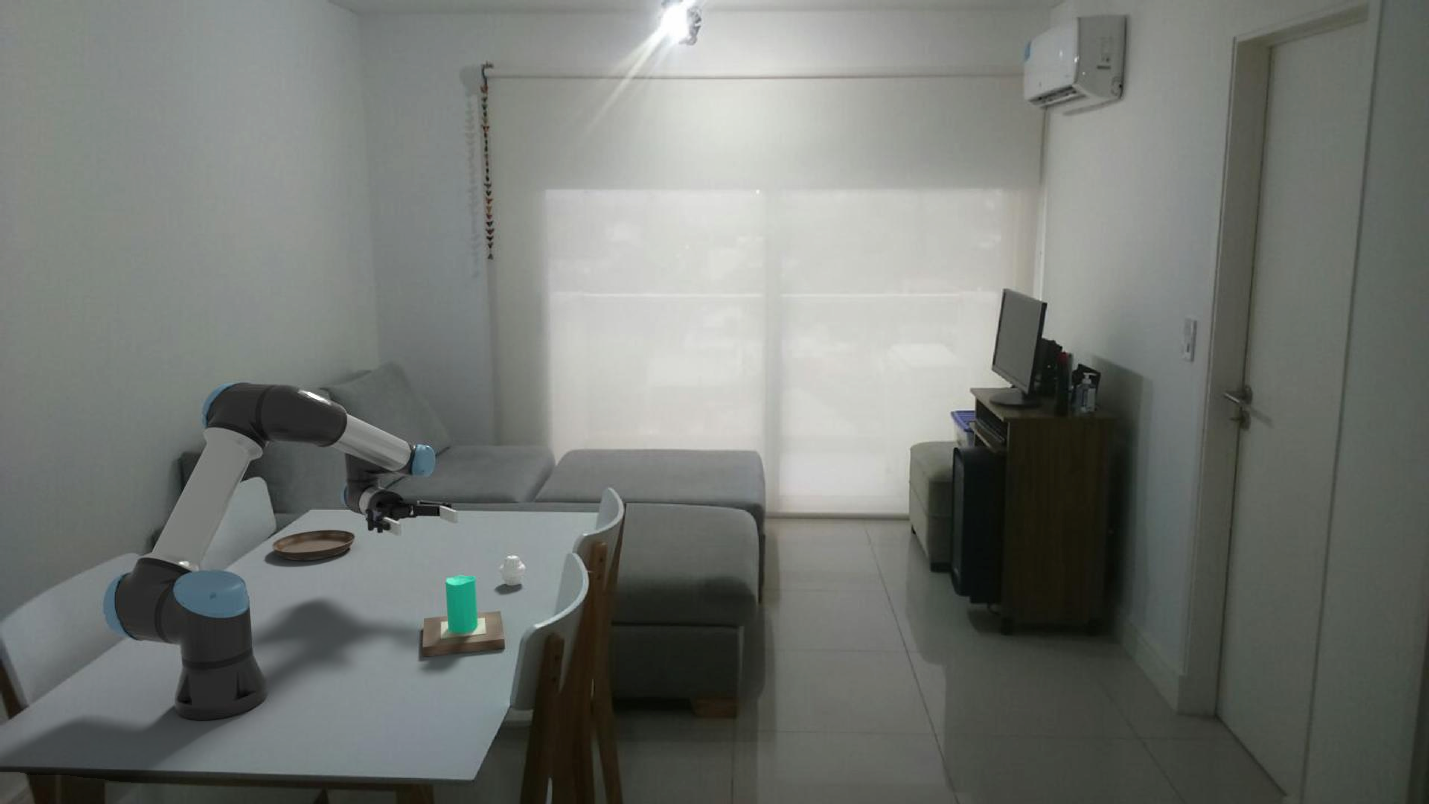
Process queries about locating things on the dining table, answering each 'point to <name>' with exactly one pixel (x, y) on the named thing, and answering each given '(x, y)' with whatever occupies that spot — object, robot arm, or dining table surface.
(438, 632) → the plinth
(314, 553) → the plant saucer
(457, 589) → the candle
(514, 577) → the white rounded piece
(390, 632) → the dining table surface
